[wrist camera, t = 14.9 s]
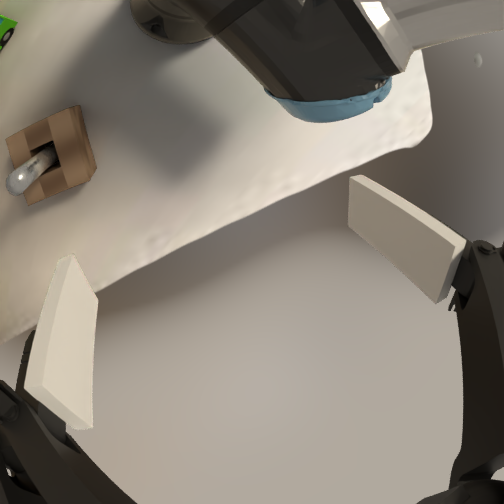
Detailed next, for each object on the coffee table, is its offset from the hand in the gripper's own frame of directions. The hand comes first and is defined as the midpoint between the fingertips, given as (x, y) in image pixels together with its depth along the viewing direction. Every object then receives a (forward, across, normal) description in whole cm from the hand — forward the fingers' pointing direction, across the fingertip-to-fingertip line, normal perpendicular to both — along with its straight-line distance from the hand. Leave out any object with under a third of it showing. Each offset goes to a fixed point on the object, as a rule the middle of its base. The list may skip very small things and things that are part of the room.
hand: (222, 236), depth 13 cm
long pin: (+32, -17, +3) cm, 36 cm away
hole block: (+32, -17, +3) cm, 36 cm away
